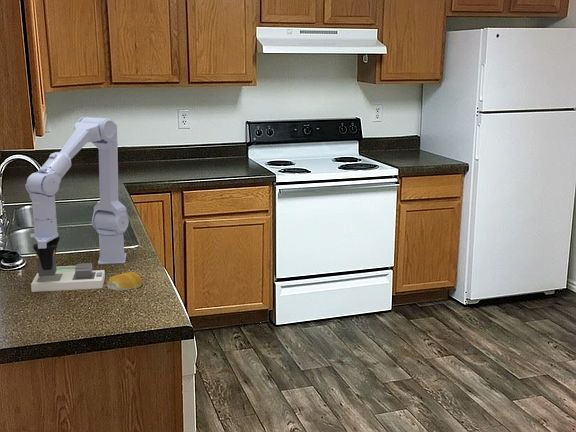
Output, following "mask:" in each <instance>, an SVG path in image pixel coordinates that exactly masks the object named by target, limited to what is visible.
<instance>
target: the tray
mask: <svg viewBox="0 0 576 432" xmlns="http://www.w3.org/2000/svg"><path fill="white" fill-rule="evenodd" d="M75 267H76V265H66V266H65V265H61V266H60V265H59V266H57V265H56V270H57V271H56V272H74V271H75Z"/></svg>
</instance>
